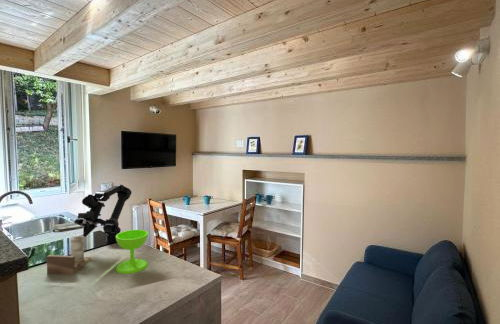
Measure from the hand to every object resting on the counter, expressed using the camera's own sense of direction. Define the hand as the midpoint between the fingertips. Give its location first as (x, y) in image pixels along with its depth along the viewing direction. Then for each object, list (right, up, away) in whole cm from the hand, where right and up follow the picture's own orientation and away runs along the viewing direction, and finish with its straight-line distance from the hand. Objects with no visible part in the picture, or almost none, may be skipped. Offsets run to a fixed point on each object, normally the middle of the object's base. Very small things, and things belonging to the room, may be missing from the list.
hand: (84, 236), depth 150 cm
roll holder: (+2, -13, -12) cm, 18 cm away
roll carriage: (+2, -12, -9) cm, 15 cm away
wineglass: (+32, -14, -8) cm, 36 cm away
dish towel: (-48, -9, +53) cm, 72 cm away
